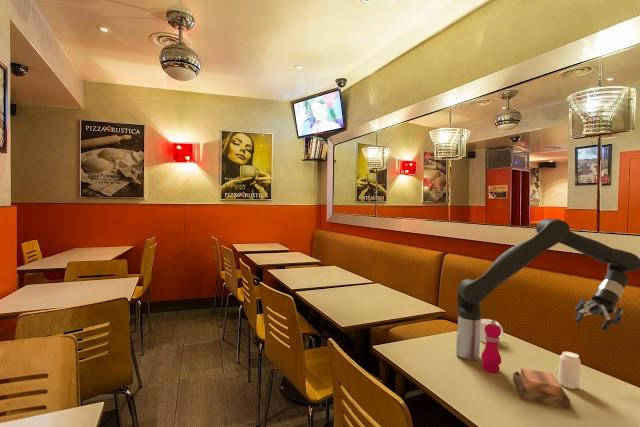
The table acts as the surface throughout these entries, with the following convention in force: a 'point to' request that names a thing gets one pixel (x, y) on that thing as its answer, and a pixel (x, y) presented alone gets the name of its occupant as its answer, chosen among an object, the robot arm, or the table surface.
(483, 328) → the mug
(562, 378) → the beverage can
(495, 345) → the pepper mill
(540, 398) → the brick plinth
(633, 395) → the table surface
